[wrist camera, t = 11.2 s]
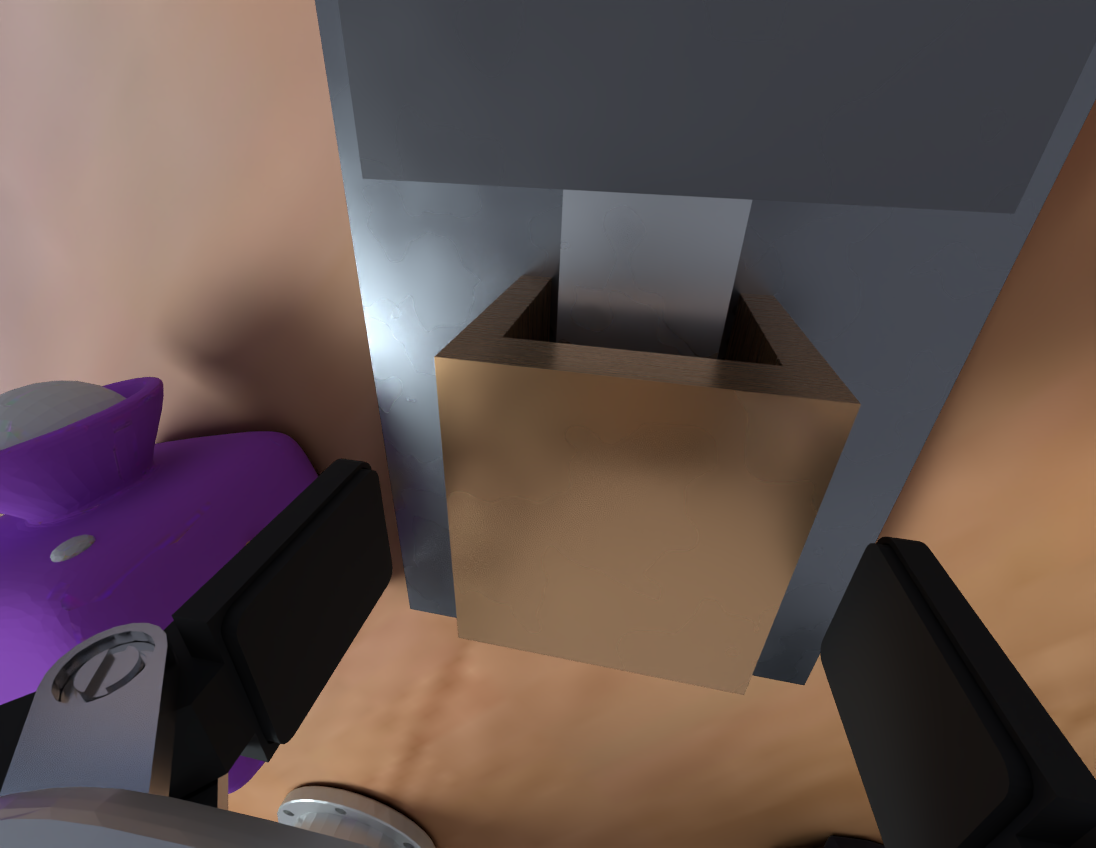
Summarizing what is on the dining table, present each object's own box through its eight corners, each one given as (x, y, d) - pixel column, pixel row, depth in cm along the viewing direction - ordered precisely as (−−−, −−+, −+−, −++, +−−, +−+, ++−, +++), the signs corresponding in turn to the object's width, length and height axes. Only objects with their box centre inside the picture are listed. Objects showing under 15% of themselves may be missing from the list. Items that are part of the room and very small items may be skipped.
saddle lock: (715, 514, 15) (744, 695, 10) (520, 485, 16) (458, 637, 11) (773, 295, 12) (861, 404, 7) (522, 275, 13) (434, 357, 8)
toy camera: (225, 297, 17) (-215, 446, 8) (421, 576, 22) (274, 844, 14) (58, 388, 21) (-360, 555, 12) (259, 608, 26) (64, 833, 17)
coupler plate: (794, 650, 20) (860, 890, 13) (424, 582, 22) (329, 758, 16) (1142, -117, 9) (2436, -826, 2) (337, -88, 11) (-89, -407, 5)
